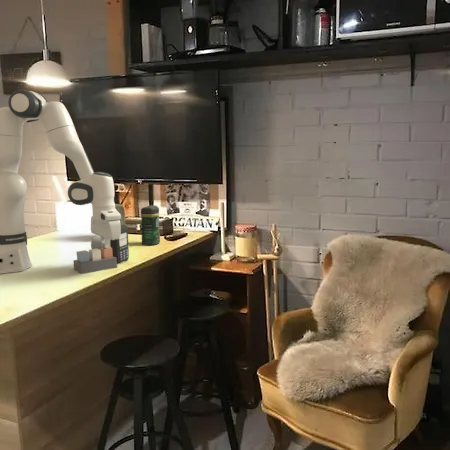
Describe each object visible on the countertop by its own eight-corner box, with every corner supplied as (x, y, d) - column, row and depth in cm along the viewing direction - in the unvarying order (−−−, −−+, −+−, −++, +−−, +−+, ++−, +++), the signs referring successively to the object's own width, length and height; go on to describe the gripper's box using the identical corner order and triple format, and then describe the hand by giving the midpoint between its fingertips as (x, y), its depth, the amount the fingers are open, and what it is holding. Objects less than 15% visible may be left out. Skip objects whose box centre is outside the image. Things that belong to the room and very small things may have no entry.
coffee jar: (155, 246, 261) (154, 207, 258) (139, 245, 263) (138, 206, 260) (162, 242, 271) (161, 204, 268) (147, 241, 272) (145, 204, 269)
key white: (93, 265, 217) (92, 251, 216) (89, 264, 220) (88, 249, 219) (101, 264, 220) (100, 249, 219) (97, 262, 222) (96, 248, 221)
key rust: (104, 263, 220) (104, 249, 219) (101, 262, 223) (100, 248, 222) (113, 262, 223) (112, 248, 222) (109, 260, 225) (108, 246, 224)
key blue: (81, 267, 214) (80, 253, 213) (77, 266, 217) (76, 251, 216) (89, 266, 217) (88, 251, 216) (85, 264, 219) (85, 250, 218)
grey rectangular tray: (81, 273, 213) (81, 263, 212) (74, 270, 219) (73, 260, 218) (117, 267, 222) (116, 257, 221) (108, 264, 228) (108, 254, 227)
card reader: (118, 264, 226) (117, 228, 224) (110, 264, 228) (108, 228, 225) (130, 259, 235) (128, 224, 232) (121, 259, 236) (120, 224, 234)
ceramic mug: (106, 255, 245) (105, 237, 243) (90, 253, 248) (90, 236, 247) (119, 250, 254) (119, 234, 253) (104, 249, 257) (104, 233, 256)
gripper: (85, 211, 226) (87, 244, 228) (107, 216, 210) (109, 252, 212) (100, 209, 229) (102, 242, 232) (122, 215, 213) (124, 250, 216)
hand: (105, 247), depth 222 cm, fingers closed
